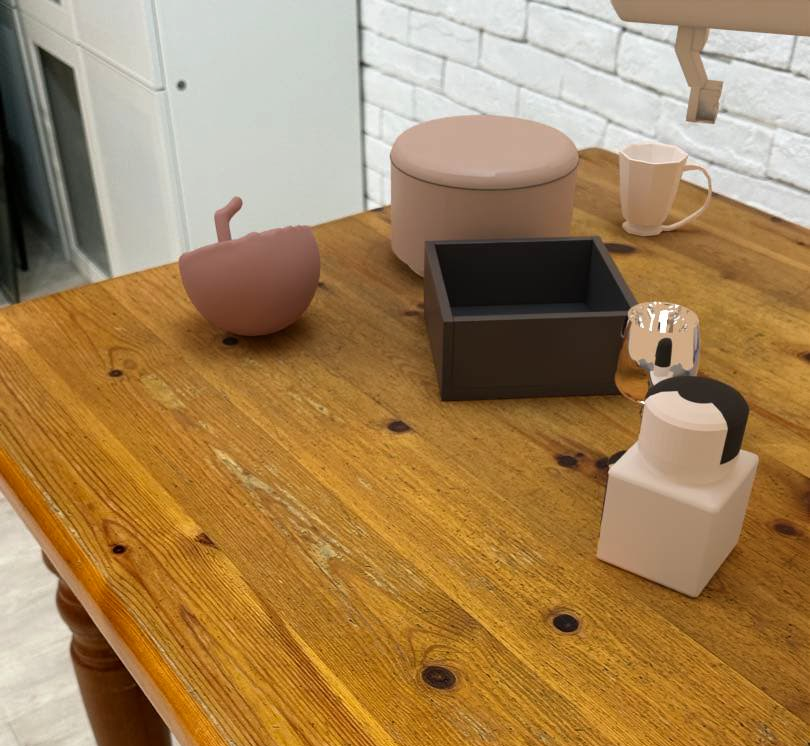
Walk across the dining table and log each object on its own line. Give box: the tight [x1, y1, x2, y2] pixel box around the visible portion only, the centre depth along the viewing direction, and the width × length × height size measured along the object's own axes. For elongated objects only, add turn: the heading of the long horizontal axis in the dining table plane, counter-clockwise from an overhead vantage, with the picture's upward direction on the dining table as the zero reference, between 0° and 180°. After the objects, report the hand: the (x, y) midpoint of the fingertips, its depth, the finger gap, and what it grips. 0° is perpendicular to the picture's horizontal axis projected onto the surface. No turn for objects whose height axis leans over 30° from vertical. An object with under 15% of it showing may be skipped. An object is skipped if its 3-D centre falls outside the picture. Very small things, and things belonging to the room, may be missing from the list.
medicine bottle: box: [595, 375, 760, 598], centre depth 65 cm, size 7×7×12 cm
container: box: [389, 114, 580, 278], centre depth 102 cm, size 18×18×12 cm
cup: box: [618, 141, 713, 237], centre depth 110 cm, size 7×10×8 cm
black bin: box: [423, 235, 639, 402], centre depth 88 cm, size 16×16×7 cm
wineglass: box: [606, 301, 701, 471], centre depth 73 cm, size 6×6×12 cm
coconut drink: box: [178, 195, 321, 337], centre depth 90 cm, size 12×12×12 cm
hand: (795, 130), depth 53 cm, fingers open, 8 cm apart
